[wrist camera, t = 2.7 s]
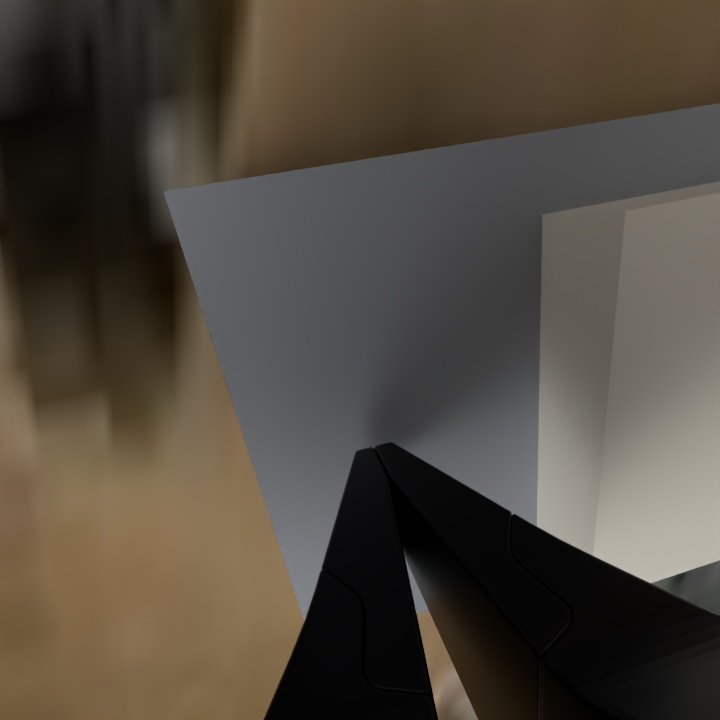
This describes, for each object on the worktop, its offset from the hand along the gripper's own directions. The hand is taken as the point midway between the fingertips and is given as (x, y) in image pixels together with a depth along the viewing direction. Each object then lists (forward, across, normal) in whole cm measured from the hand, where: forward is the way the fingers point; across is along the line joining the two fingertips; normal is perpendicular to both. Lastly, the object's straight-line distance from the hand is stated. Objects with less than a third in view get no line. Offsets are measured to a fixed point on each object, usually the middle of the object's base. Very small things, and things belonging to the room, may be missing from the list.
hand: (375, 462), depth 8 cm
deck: (+4, -5, 0) cm, 7 cm away
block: (0, -7, 0) cm, 7 cm away
